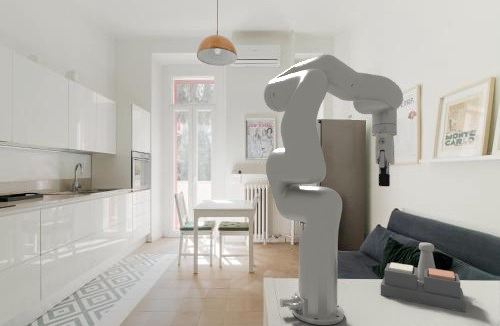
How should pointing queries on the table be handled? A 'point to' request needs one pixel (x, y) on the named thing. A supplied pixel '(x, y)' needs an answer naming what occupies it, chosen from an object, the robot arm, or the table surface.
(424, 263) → the salt shaker
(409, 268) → the ivory key
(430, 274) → the terracotta key
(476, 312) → the table surface
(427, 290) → the key panel
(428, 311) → the table surface
